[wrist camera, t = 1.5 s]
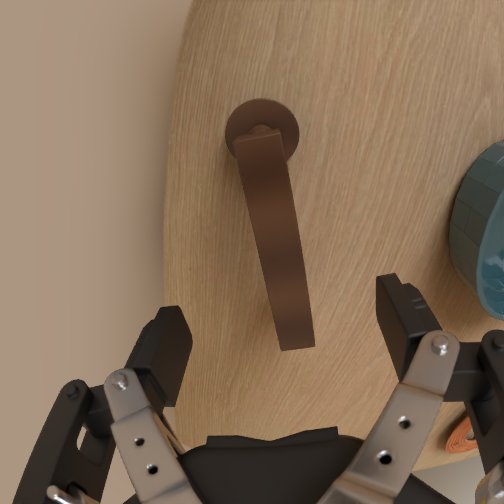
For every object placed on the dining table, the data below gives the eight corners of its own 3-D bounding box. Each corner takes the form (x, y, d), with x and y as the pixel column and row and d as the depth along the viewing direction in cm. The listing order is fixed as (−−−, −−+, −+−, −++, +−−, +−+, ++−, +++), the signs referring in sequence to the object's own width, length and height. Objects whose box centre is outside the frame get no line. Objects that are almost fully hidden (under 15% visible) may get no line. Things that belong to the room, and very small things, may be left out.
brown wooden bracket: (224, 106, 22) (197, 110, 14) (289, 93, 21) (298, 89, 13) (265, 283, 29) (262, 353, 21) (319, 275, 28) (334, 344, 20)
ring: (561, 348, 33) (566, 357, 31) (515, 421, 44) (519, 428, 42) (465, 391, 37) (470, 402, 34) (429, 456, 48) (431, 465, 46)
